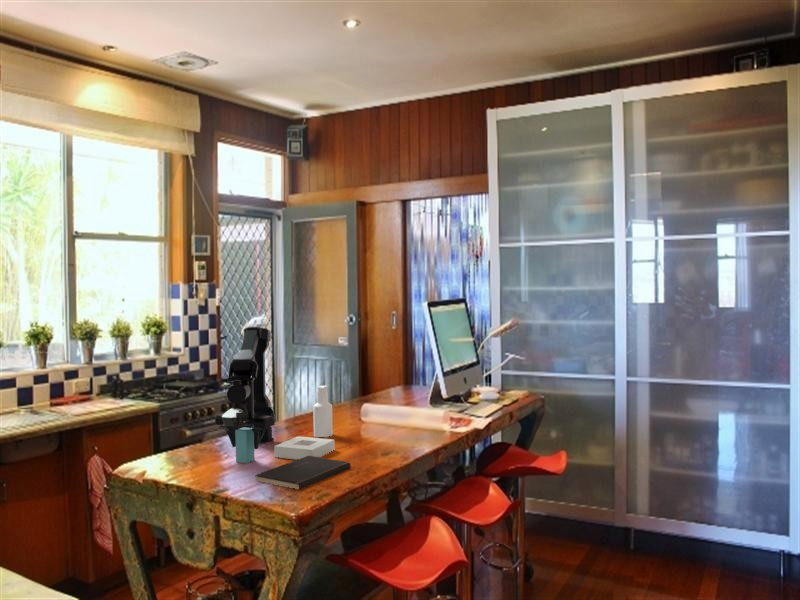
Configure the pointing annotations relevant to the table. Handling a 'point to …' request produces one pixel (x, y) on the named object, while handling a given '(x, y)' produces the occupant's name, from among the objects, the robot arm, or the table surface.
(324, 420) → the white bottle
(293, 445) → the socket block
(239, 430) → the peg
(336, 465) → the hardcover book
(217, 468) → the table surface
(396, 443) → the table surface
